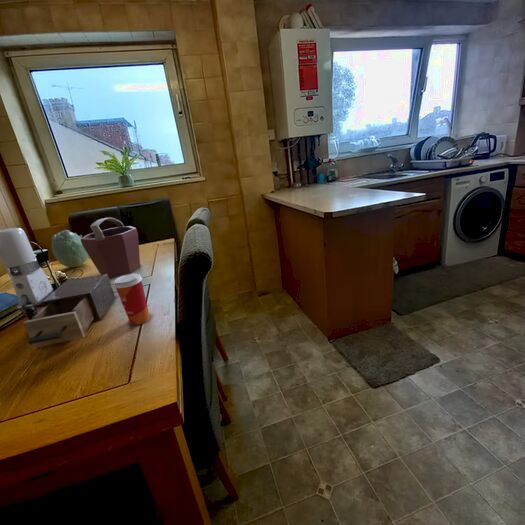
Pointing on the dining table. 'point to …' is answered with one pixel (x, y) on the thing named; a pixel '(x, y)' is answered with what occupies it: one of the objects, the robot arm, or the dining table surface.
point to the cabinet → (86, 292)
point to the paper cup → (133, 298)
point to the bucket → (113, 248)
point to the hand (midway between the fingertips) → (46, 316)
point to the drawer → (60, 321)
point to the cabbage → (69, 249)
